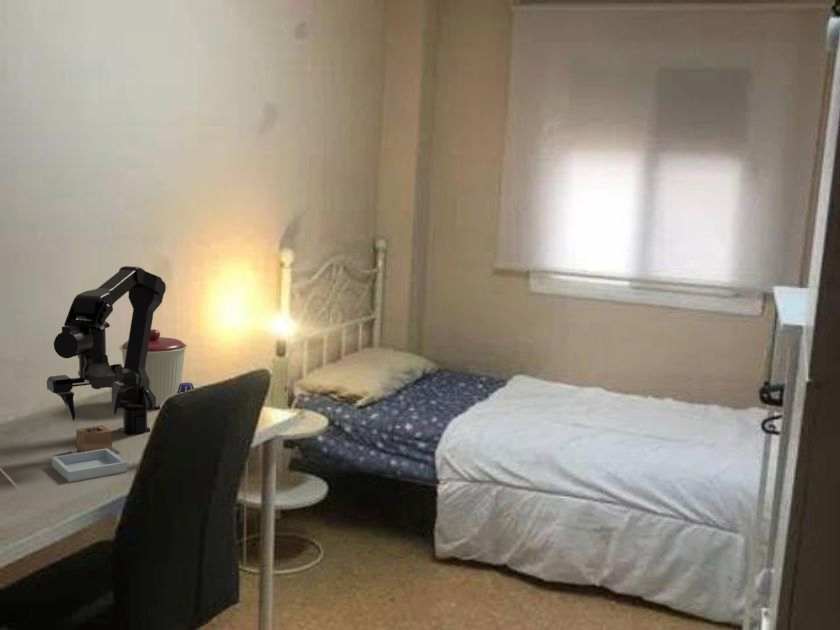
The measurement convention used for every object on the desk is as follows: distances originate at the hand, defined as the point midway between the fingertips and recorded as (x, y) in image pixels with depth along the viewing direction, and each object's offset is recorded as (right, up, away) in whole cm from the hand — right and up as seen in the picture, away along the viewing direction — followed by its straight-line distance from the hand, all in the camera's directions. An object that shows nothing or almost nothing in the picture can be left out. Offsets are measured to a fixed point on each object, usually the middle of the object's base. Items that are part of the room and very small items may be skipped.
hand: (94, 417), depth 202 cm
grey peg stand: (0, -8, +1) cm, 8 cm away
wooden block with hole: (-1, -8, +2) cm, 8 cm away
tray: (+3, -10, -11) cm, 16 cm away
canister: (0, -2, +47) cm, 47 cm away
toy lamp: (+20, -9, +2) cm, 22 cm away
